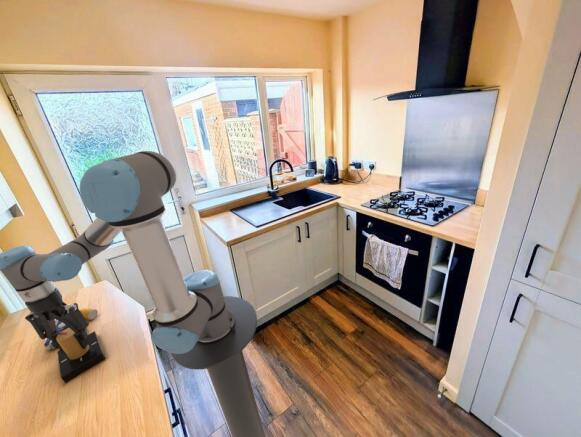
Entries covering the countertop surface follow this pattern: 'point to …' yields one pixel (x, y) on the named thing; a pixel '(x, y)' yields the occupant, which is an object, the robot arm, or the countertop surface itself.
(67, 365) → the black dial panel
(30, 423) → the countertop surface
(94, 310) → the spray gun
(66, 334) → the brass dial cylinder
